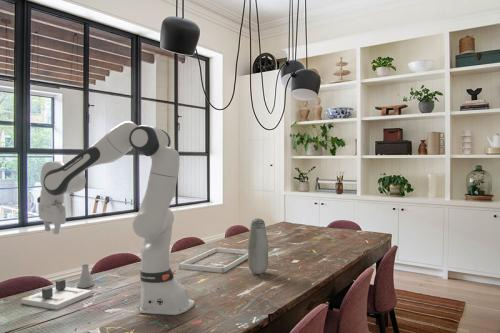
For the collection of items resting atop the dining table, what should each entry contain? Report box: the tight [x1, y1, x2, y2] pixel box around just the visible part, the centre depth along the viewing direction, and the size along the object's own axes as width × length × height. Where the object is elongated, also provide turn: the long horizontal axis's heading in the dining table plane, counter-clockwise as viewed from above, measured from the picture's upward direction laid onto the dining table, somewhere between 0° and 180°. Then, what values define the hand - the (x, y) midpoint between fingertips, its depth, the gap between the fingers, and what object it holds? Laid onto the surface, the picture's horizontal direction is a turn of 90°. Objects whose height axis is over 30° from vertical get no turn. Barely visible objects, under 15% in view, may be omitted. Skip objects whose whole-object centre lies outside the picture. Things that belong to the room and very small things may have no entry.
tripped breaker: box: [41, 286, 53, 299], centre depth 158 cm, size 2×3×4 cm
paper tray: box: [178, 247, 248, 274], centre depth 221 cm, size 27×42×2 cm, turn 157°
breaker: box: [55, 278, 67, 290], centre depth 168 cm, size 2×3×4 cm
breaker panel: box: [21, 286, 93, 311], centre depth 162 cm, size 20×18×2 cm
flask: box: [77, 263, 95, 289], centre depth 180 cm, size 7×7×10 cm
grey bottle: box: [247, 217, 269, 275], centre depth 194 cm, size 10×10×28 cm
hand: (51, 232), depth 162 cm, fingers open, 8 cm apart
